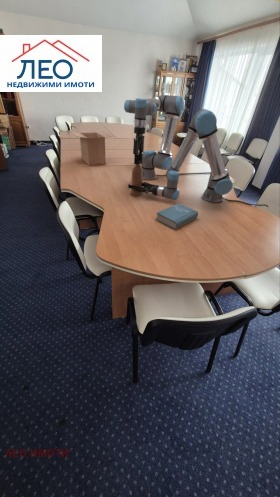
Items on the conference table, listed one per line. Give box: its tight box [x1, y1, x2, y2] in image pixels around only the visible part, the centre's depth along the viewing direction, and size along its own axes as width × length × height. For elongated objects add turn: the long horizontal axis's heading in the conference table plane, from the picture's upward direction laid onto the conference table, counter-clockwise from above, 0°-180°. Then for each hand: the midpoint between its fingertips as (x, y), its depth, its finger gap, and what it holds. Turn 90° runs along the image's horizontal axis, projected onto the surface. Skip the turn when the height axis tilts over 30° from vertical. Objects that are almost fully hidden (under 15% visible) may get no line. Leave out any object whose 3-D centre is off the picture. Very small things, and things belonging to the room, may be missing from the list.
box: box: [70, 129, 114, 166], centre depth 229 cm, size 44×36×27 cm
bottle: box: [130, 164, 144, 197], centre depth 165 cm, size 8×8×25 cm
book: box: [155, 203, 199, 230], centre depth 142 cm, size 23×16×5 cm
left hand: (137, 162), depth 159 cm, fingers open, 6 cm apart
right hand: (131, 184), depth 170 cm, fingers closed on bottle, 8 cm apart
